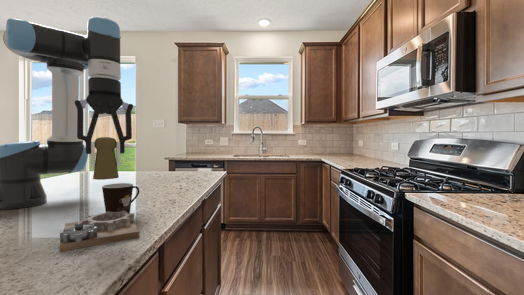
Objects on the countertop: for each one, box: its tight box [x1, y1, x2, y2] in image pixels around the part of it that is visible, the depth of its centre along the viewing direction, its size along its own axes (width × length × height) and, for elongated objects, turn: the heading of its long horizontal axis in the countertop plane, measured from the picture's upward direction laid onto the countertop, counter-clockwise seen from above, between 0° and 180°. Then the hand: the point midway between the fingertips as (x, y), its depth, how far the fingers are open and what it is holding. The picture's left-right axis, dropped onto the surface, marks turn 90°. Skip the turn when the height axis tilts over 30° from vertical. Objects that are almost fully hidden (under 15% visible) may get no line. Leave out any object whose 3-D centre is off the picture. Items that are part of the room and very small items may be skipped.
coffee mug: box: [101, 182, 140, 214], centre depth 85 cm, size 12×9×10 cm
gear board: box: [58, 211, 140, 252], centre depth 70 cm, size 17×16×4 cm
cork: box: [92, 136, 119, 181], centre depth 72 cm, size 6×6×11 cm
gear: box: [59, 223, 97, 243], centre depth 63 cm, size 7×7×3 cm
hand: (105, 165), depth 72 cm, fingers closed on cork, 5 cm apart
